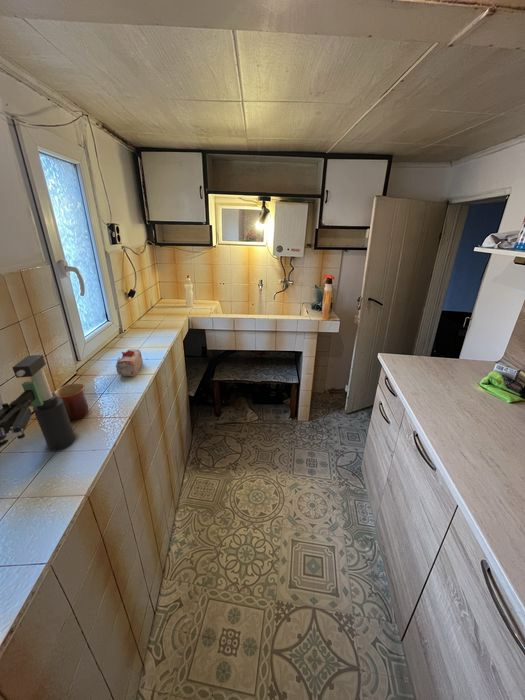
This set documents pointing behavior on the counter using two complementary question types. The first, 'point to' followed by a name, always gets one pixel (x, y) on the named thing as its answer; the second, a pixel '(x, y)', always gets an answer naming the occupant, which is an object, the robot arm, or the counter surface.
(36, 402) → the trigger
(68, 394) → the mug
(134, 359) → the food item
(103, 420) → the counter surface
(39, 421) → the spray bottle
